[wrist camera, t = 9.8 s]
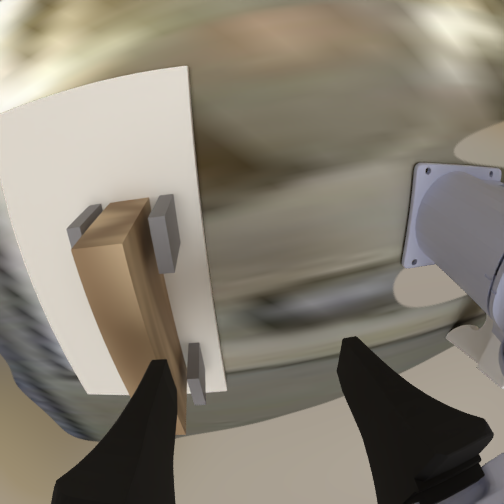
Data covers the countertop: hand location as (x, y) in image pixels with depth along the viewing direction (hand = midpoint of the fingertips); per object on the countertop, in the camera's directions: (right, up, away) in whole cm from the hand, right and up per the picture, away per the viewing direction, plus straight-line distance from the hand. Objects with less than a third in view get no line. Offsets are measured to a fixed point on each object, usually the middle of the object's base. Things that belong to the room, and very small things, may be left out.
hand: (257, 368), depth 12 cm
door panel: (-7, +1, +8) cm, 11 cm away
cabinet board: (-10, +3, +8) cm, 13 cm away
